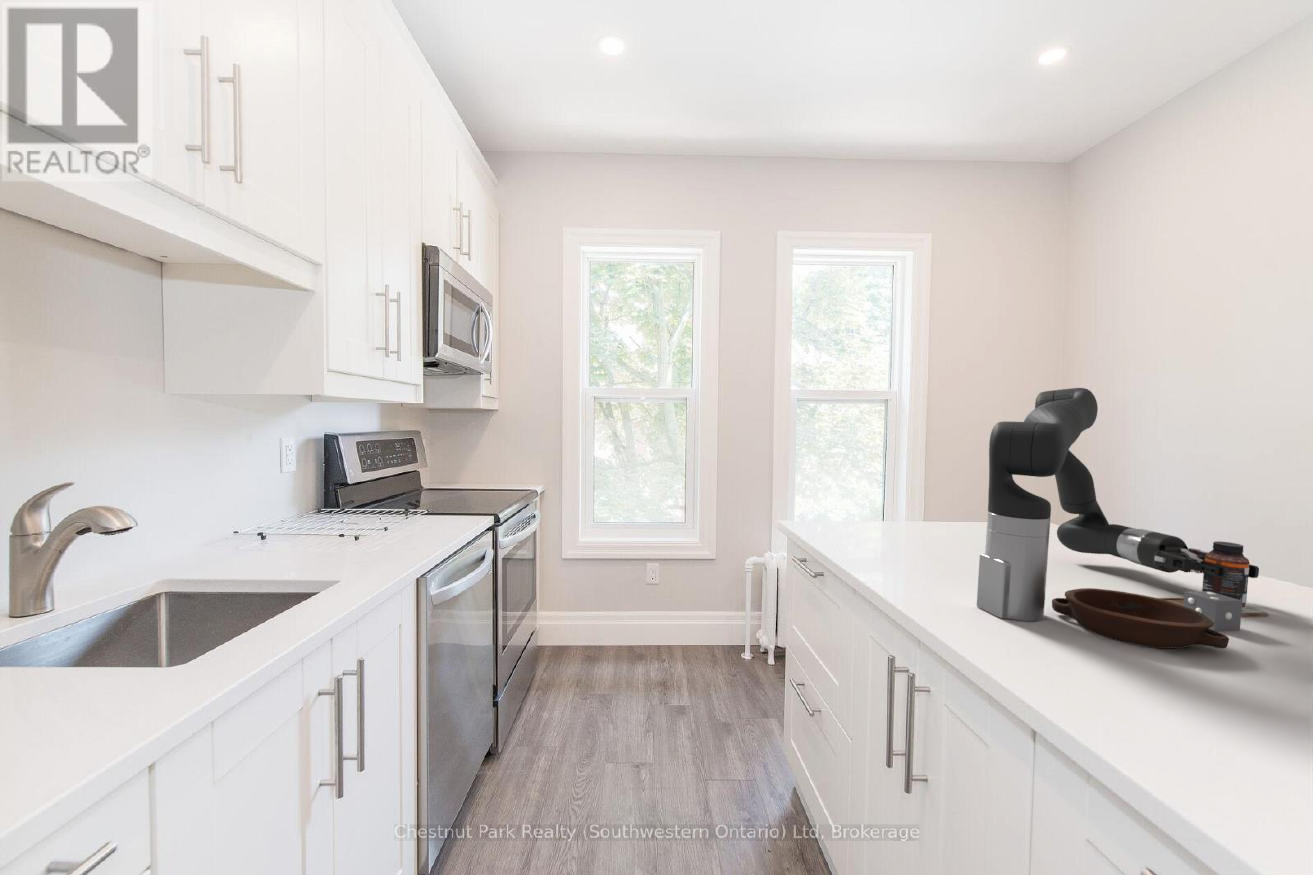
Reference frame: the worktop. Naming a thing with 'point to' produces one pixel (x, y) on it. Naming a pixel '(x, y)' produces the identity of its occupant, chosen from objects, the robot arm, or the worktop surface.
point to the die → (1216, 609)
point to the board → (1244, 611)
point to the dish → (1138, 619)
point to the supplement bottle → (1237, 571)
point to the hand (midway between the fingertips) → (1241, 572)
